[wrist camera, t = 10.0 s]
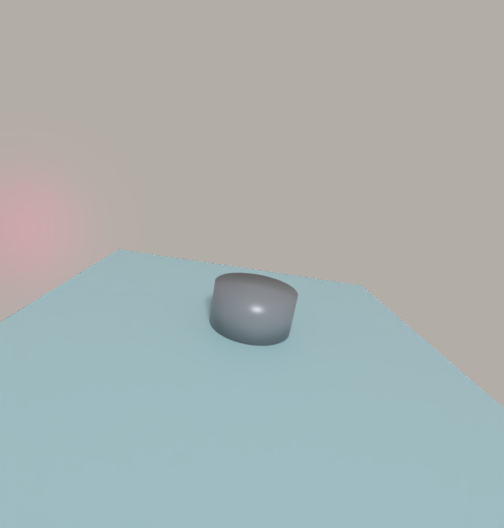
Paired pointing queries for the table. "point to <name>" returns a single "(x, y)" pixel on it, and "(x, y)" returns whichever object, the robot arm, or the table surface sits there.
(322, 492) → the cover tub
